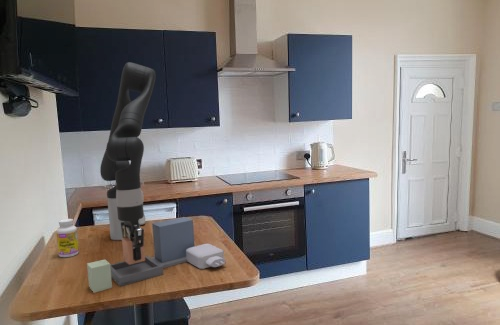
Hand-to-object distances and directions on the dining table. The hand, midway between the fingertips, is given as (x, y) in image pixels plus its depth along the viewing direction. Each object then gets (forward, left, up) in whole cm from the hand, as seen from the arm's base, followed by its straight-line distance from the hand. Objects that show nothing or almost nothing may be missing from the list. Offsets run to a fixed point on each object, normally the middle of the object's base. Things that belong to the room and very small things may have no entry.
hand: (134, 257), depth 115 cm
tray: (0, 0, -5) cm, 5 cm away
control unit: (-3, +15, -5) cm, 16 cm away
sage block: (+3, -11, -5) cm, 13 cm away
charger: (+9, +21, -6) cm, 24 cm away
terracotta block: (0, 0, -1) cm, 1 cm away
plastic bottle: (-57, +22, -5) cm, 61 cm away
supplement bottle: (-35, -12, -5) cm, 38 cm away
